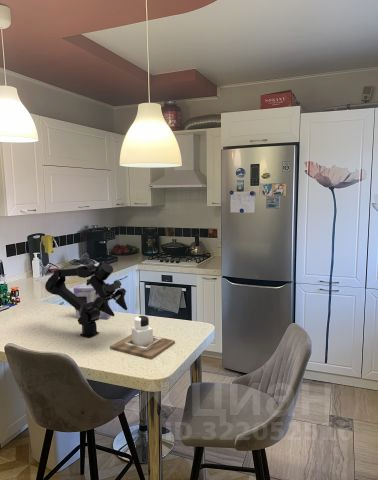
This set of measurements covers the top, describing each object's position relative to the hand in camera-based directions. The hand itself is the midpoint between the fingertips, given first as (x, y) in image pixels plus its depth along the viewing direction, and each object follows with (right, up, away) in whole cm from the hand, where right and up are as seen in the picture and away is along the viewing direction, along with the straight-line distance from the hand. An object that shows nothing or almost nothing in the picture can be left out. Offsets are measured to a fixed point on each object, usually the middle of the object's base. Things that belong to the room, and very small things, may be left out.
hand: (120, 312), depth 171 cm
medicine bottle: (+10, -13, -4) cm, 17 cm away
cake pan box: (-21, -10, +35) cm, 42 cm away
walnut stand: (+11, -14, -3) cm, 18 cm away
